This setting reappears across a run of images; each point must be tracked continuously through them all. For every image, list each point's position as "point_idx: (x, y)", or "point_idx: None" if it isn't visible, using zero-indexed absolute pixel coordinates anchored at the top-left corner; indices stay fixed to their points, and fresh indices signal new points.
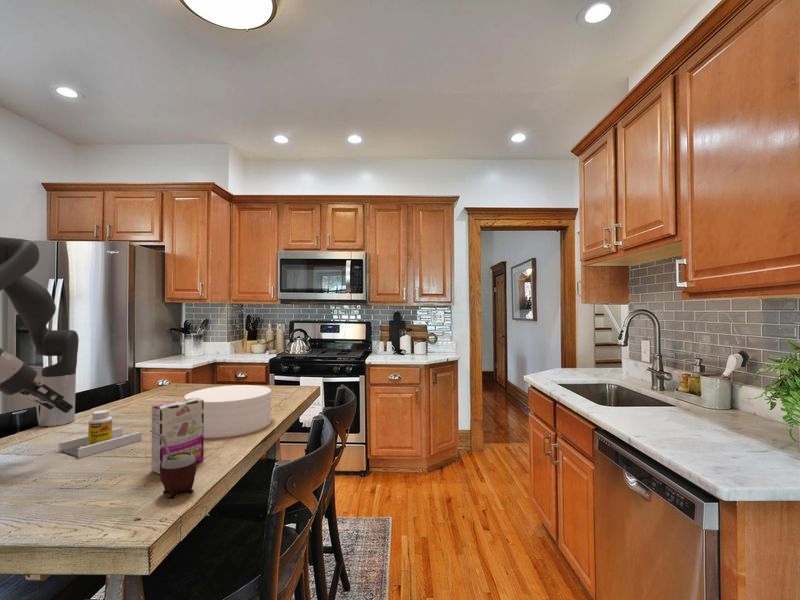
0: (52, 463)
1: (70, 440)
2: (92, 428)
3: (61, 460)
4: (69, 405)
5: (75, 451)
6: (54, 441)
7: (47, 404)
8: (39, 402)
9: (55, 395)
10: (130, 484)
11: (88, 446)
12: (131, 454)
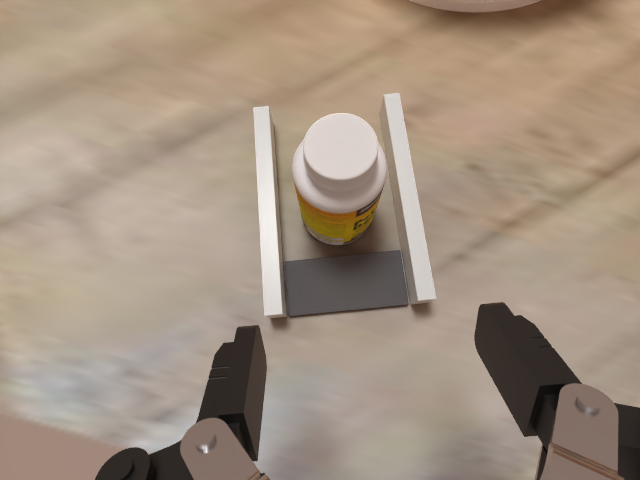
0: (405, 379)
1: (273, 278)
2: (359, 216)
3: (395, 348)
4: (537, 330)
5: (346, 289)
6: (112, 282)
7: (261, 391)
8: (257, 457)
9: (612, 456)
10: None
11: (428, 269)
12: (532, 190)
